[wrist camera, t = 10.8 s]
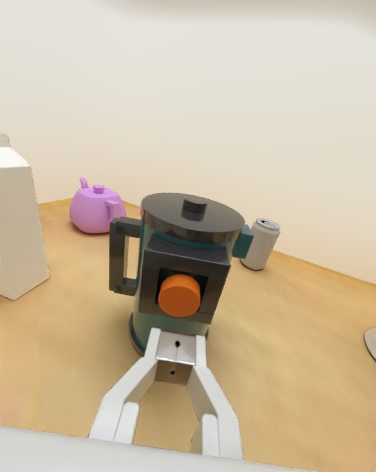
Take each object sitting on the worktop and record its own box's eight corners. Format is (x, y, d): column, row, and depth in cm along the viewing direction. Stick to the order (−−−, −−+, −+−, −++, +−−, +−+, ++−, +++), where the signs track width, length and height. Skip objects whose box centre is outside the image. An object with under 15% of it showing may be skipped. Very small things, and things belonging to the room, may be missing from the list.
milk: (-18, 288, 29) (-83, 123, 19) (23, 267, 34) (-12, 129, 25) (14, 301, 28) (-37, 134, 18) (51, 277, 33) (26, 138, 24)
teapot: (103, 208, 64) (102, 175, 59) (139, 233, 54) (142, 195, 49) (57, 214, 54) (52, 175, 49) (91, 246, 44) (89, 199, 39)
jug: (216, 388, 23) (285, 244, 14) (85, 367, 22) (70, 202, 13) (210, 304, 35) (245, 197, 26) (124, 289, 34) (130, 174, 25)
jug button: (195, 320, 16) (204, 290, 15) (155, 313, 16) (160, 282, 15) (195, 306, 18) (203, 277, 16) (159, 300, 17) (163, 270, 16)
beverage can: (249, 255, 54) (264, 216, 49) (268, 268, 50) (287, 227, 45) (234, 259, 51) (249, 218, 45) (253, 274, 46) (272, 230, 41)
